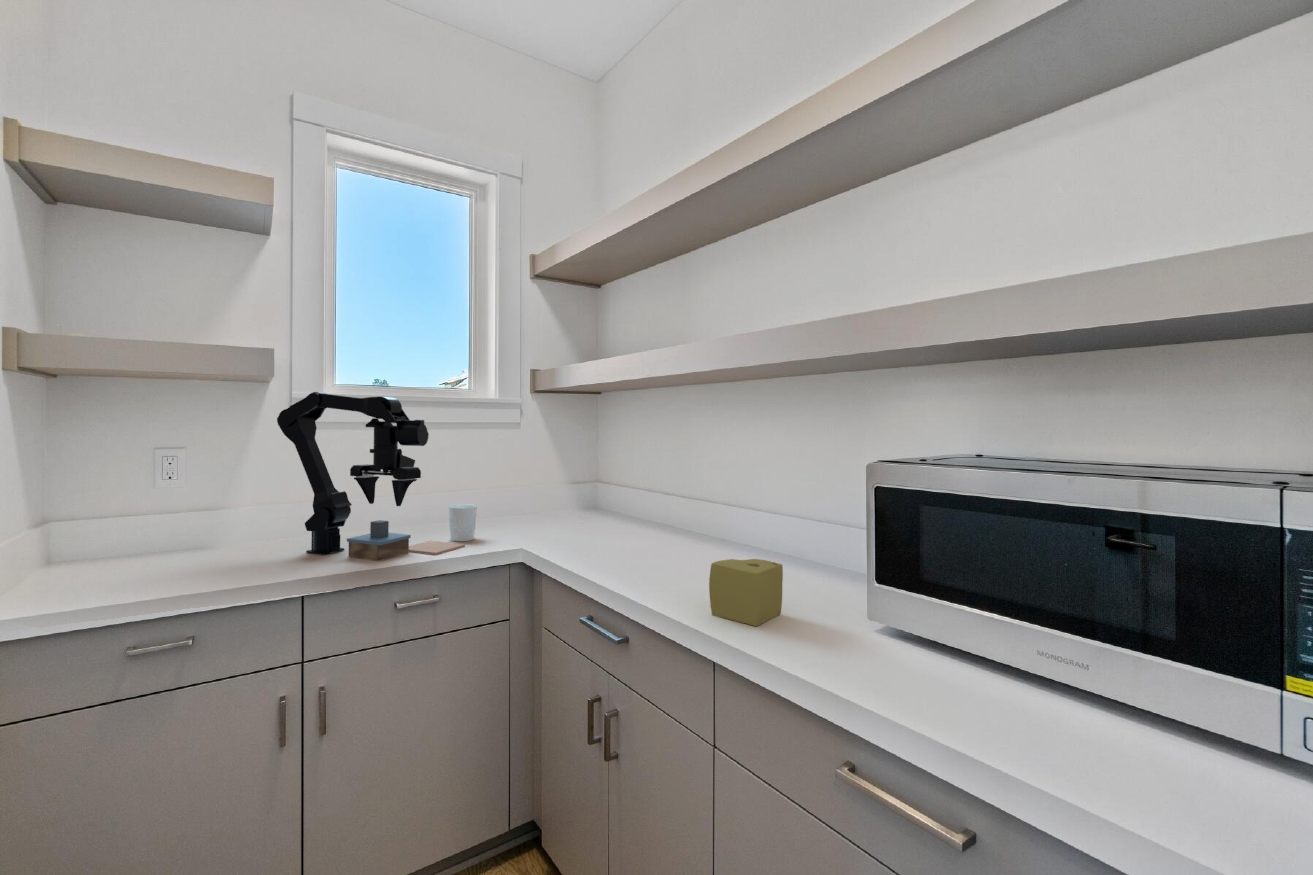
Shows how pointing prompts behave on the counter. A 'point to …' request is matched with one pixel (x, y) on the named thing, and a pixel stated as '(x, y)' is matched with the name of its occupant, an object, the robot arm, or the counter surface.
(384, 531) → the lid
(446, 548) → the mat
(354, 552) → the box
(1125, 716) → the counter surface
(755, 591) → the cheese
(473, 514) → the white cup
